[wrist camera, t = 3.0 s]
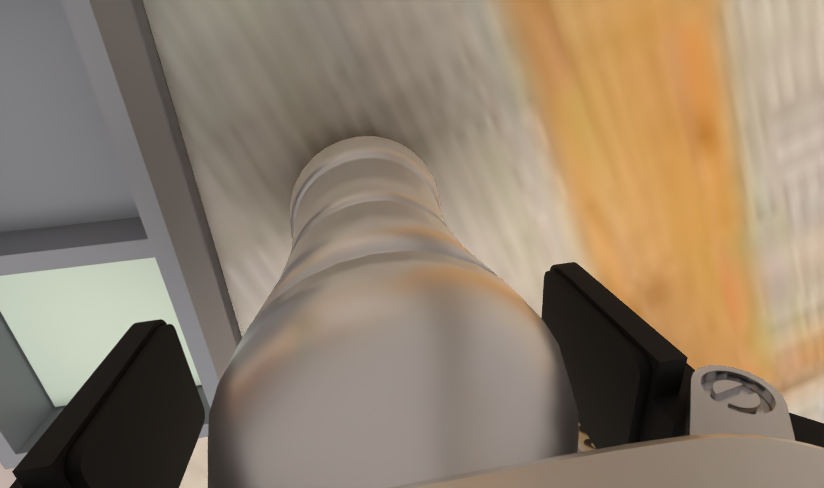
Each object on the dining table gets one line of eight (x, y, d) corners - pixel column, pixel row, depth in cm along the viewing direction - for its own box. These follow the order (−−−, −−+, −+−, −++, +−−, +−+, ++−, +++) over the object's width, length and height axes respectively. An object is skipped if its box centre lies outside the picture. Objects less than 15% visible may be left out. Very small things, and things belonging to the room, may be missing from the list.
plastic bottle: (269, 210, 21) (-309, 1349, 2) (350, 95, 19) (422, 934, 1) (375, 275, 23) (481, 1114, 5) (455, 178, 21) (1081, 884, 3)
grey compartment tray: (-186, -24, 15) (-358, -50, 11) (129, -41, 16) (65, -70, 12) (58, 405, 23) (5, 469, 20) (252, 376, 24) (236, 431, 21)
